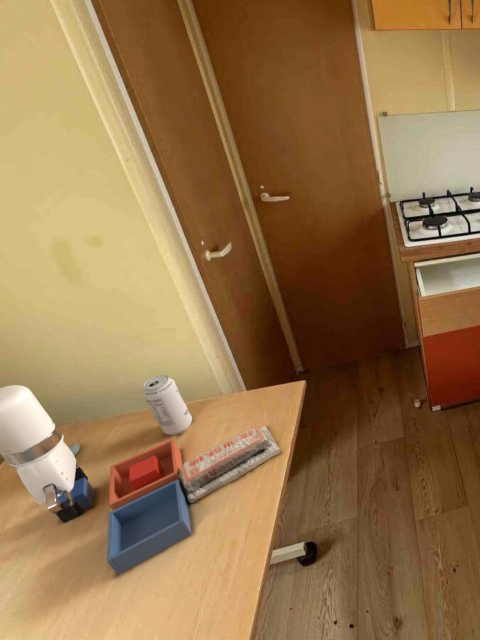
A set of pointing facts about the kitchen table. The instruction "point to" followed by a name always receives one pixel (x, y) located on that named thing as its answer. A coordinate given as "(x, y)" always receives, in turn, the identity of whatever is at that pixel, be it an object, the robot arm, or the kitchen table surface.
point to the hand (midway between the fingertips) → (76, 499)
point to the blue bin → (147, 526)
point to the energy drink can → (167, 404)
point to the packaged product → (226, 462)
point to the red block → (145, 472)
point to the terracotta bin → (126, 493)
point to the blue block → (80, 493)
